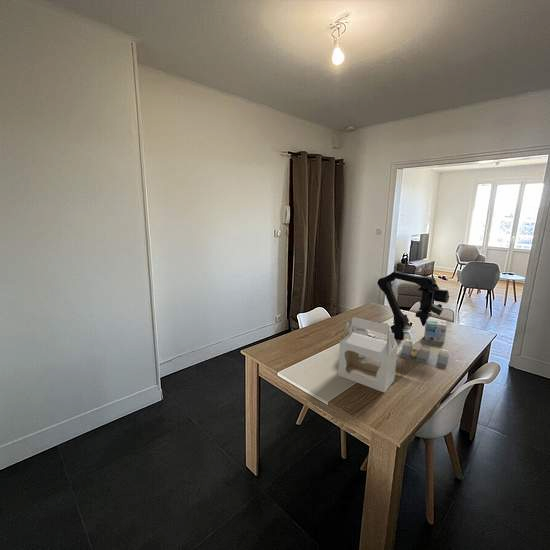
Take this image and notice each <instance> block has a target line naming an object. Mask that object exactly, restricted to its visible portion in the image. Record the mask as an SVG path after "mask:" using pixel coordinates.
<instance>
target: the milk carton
mask: <svg viewBox="0 0 550 550" xmlns="http://www.w3.org/2000/svg"><path fill="white" fill-rule="evenodd" d="M353 333H357V334H361V335H365V336H368V337H369V330H367V329H363V328H359V327H355V326H354V327H353ZM359 358H360V359H365V358H366V357H365V356H362V355H360V354H359V355H358V359H359Z"/></svg>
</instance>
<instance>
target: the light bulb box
mask: <svg viewBox="0 0 550 550" xmlns="http://www.w3.org/2000/svg"><path fill="white" fill-rule="evenodd" d="M446 333H447V324H446V321H439V320H438V321H437V320H431V319H427V321H426V324H425V326H424V336H423V337H424V340H425V341H433V342H439V343H443V342H444V343H445V341H446Z"/></svg>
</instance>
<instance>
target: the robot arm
mask: <svg viewBox="0 0 550 550" xmlns="http://www.w3.org/2000/svg"><path fill="white" fill-rule="evenodd" d="M395 280H400V281H406V282H408V283H412V284H413V283H414V284H416V285H418V286H419V288H417V291H419V292H421V296H420V300H419V303H420V304H419V307H418V311H417V312H415V318H418V319H419V321H420V323H421V326H422V327H425V326H426V321H427V320H429V318H430V317H431V316H432V313H434V314H436V315H437V316H441V314H442V313H443V310H444V308H443V305H442V304H440V303H443V304H448V302H449V300H450V293H449V290H448V289H440V287H439V285H438V284H437V281H436V279H435V278H434V277H433V276H429V275H428V276H427V275H415V274H410V273H406V272H402V271H398V270H396V271H392V272H391V273H390V274H388V275H386V276H384V277H380V278H379V279H378V280H377V285H378V287H379V289H380V290H381V291H382V293H384V295H385V298H386V300H387V302H388V305H389V307H390V309H391V312H392V314H393V324H392V325H391V326H390V327H389V329H390V331H391V332H392V333H394V338H395V340H399V341H404V339H405V330H404V329H405V328H407V327H408V326H409V324H410V322H409V321H410V319H409V317H408V315H407V314H406V313H405V314H404V313H403V312H402V311H401V308H400V306H399V303H398V301H397V298H396V296H395V293H394V291H393V283H392V282H393V281H395ZM434 302H438V304H435V303H434ZM431 312H432V313H431Z"/></svg>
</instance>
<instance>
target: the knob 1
mask: <svg viewBox="0 0 550 550" xmlns="http://www.w3.org/2000/svg"><path fill="white" fill-rule="evenodd" d="M402 341H403V342H402V343H403V344H402V346H404V347H408V348H411V347H412V346H413V341H410V340H402ZM412 348H413V347H412Z"/></svg>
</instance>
